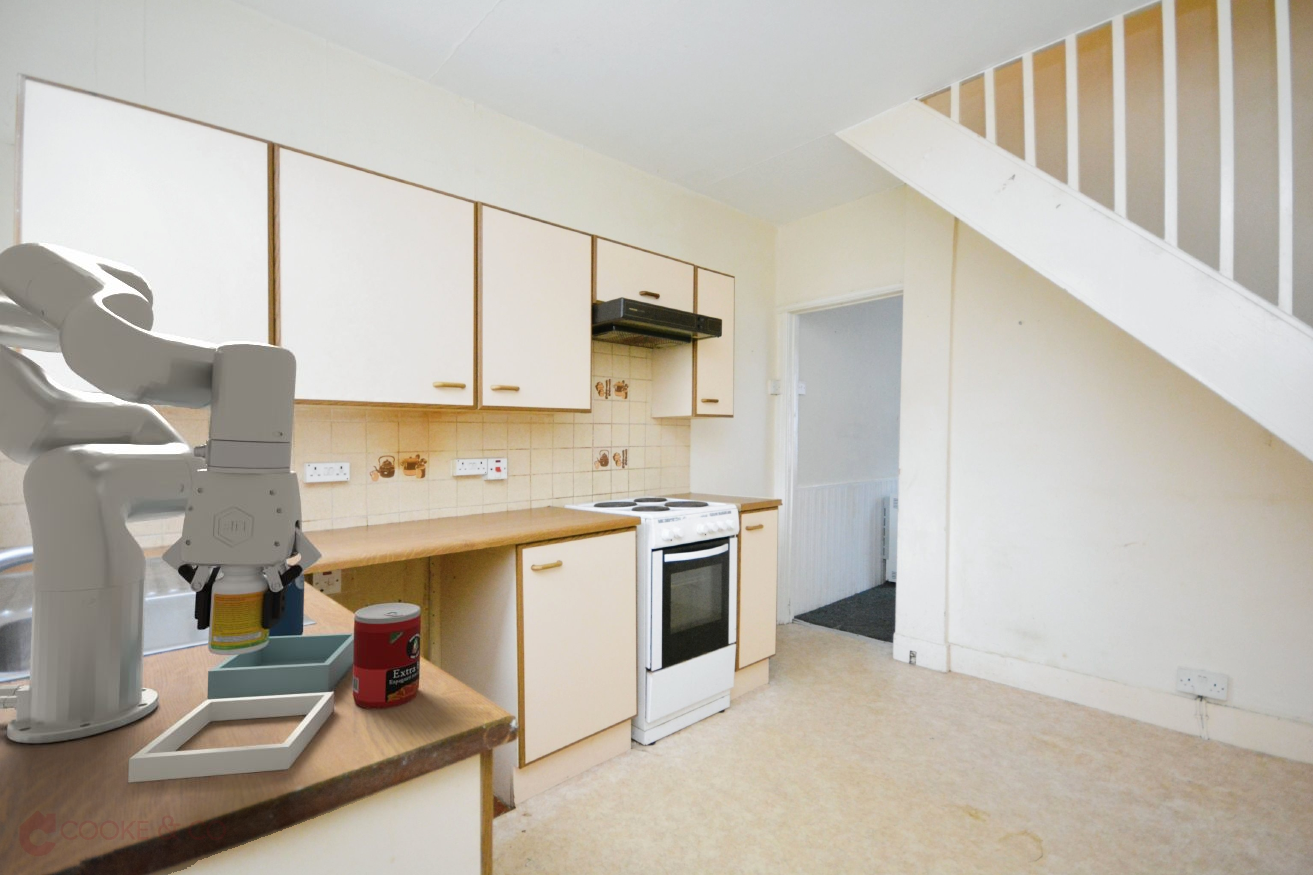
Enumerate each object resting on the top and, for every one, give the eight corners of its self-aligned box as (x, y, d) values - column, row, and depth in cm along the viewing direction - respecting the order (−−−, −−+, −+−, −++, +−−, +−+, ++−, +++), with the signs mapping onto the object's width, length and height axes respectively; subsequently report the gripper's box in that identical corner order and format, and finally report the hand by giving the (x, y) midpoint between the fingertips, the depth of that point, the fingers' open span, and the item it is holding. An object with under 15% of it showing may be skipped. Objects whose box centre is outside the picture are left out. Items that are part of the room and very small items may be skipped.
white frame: (128, 782, 56) (129, 758, 56) (206, 718, 70) (206, 699, 70) (288, 769, 59) (288, 746, 59) (333, 710, 72) (334, 691, 72)
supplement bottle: (275, 648, 65) (280, 559, 65) (215, 660, 61) (220, 564, 61) (260, 636, 68) (265, 551, 69) (202, 646, 64) (208, 556, 65)
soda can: (312, 637, 99) (314, 565, 100) (280, 651, 93) (282, 573, 93) (275, 635, 100) (277, 563, 101) (241, 648, 94) (243, 571, 94)
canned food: (395, 712, 72) (397, 620, 72) (337, 706, 73) (339, 615, 74) (431, 688, 79) (433, 604, 80) (378, 682, 81) (380, 600, 81)
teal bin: (207, 703, 73) (208, 670, 74) (257, 664, 87) (258, 636, 87) (328, 696, 76) (328, 664, 76) (358, 659, 89) (359, 632, 90)
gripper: (137, 455, 60) (125, 638, 59) (324, 463, 63) (314, 636, 63) (180, 453, 67) (170, 616, 67) (346, 460, 70) (337, 615, 70)
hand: (240, 623), depth 65 cm, fingers closed on supplement bottle, 5 cm apart
